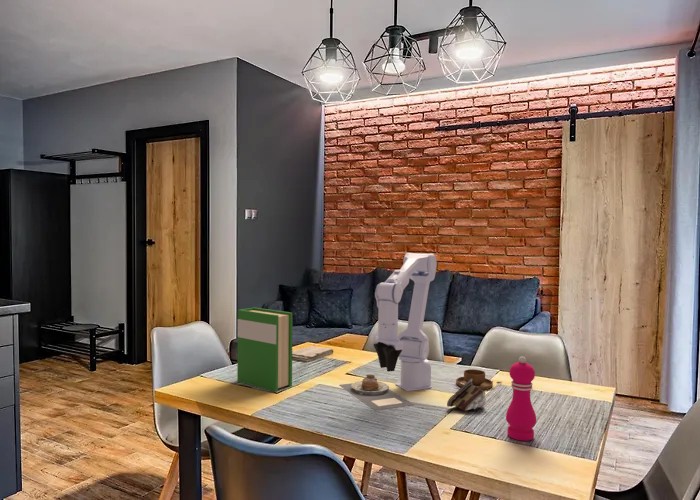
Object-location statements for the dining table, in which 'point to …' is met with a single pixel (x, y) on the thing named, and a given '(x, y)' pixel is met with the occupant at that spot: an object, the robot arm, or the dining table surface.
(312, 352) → the washcloth
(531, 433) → the pepper mill
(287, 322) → the hardback book
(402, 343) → the robot arm
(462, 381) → the place setting
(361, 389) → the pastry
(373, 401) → the label panel
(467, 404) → the chocolate cake
